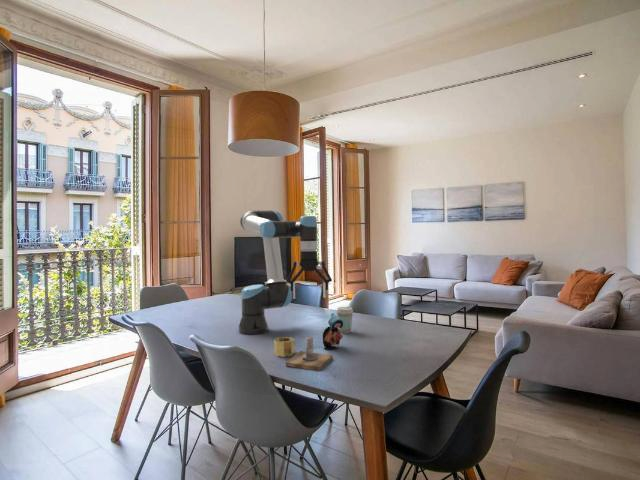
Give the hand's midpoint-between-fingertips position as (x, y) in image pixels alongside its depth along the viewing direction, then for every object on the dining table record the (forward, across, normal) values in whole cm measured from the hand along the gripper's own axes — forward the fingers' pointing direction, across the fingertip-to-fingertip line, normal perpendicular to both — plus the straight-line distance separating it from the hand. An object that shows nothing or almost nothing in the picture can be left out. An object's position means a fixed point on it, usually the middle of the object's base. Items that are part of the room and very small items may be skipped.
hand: (309, 297), depth 167 cm
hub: (+22, -11, -10) cm, 26 cm away
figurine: (+22, +10, -5) cm, 24 cm away
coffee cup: (+22, +19, +21) cm, 36 cm away
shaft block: (+22, -1, -21) cm, 30 cm away
